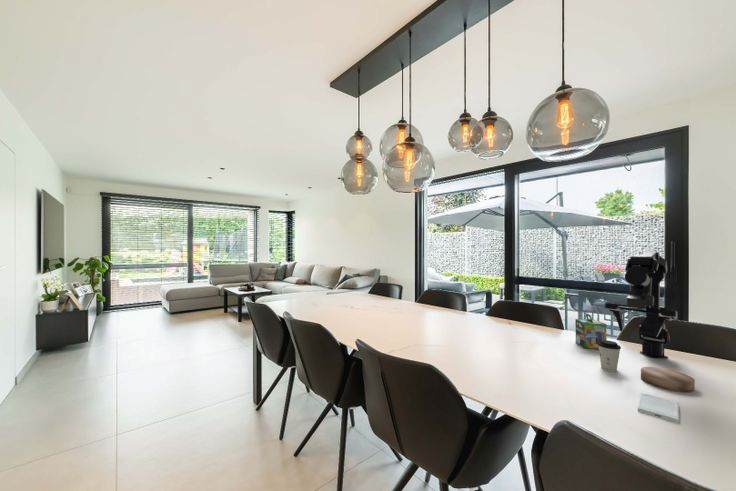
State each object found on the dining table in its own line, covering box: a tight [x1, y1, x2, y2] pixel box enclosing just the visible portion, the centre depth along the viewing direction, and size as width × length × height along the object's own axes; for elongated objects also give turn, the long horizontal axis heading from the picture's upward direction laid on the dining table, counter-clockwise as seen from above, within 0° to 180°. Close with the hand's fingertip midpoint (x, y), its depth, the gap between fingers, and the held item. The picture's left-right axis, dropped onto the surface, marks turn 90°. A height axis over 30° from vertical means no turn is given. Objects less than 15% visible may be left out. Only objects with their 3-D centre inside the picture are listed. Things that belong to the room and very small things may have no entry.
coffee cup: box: [598, 340, 622, 372], centre depth 115 cm, size 7×7×10 cm
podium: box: [640, 366, 696, 393], centre depth 103 cm, size 13×13×3 cm
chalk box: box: [574, 312, 608, 350], centre depth 141 cm, size 9×9×15 cm
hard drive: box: [637, 392, 680, 424], centre depth 87 cm, size 2×8×12 cm
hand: (638, 334), depth 107 cm, fingers open, 9 cm apart
